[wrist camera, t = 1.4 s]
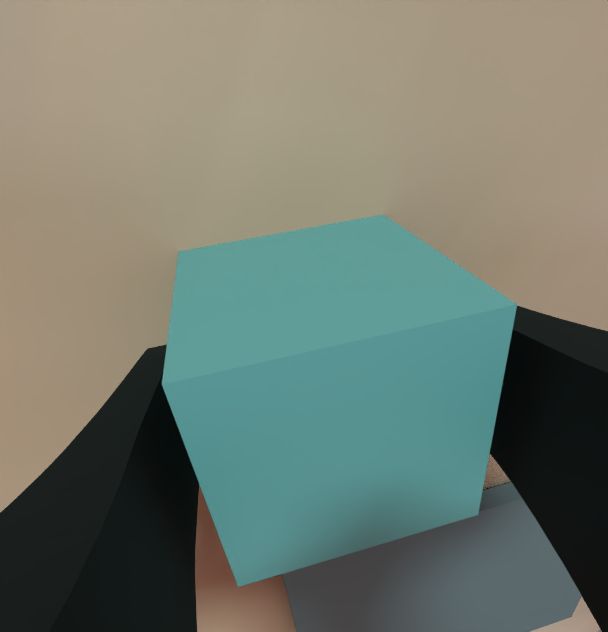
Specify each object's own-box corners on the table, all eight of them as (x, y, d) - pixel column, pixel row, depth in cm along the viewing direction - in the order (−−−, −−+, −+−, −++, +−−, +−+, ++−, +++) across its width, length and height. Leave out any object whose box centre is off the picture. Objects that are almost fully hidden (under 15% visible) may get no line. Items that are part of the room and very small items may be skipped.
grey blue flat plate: (629, 447, 18) (647, 461, 17) (561, 602, 25) (571, 616, 24) (277, 550, 16) (281, 571, 15) (312, 688, 23) (316, 706, 22)
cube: (381, 213, 10) (517, 304, 6) (383, 371, 13) (478, 514, 8) (179, 250, 9) (161, 384, 5) (224, 409, 12) (238, 587, 8)
